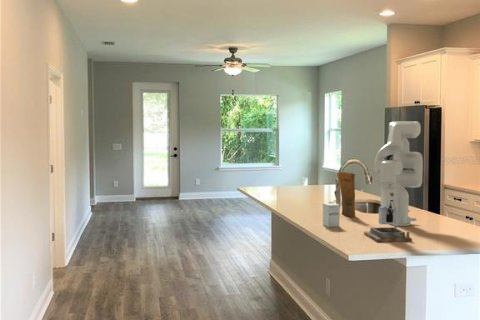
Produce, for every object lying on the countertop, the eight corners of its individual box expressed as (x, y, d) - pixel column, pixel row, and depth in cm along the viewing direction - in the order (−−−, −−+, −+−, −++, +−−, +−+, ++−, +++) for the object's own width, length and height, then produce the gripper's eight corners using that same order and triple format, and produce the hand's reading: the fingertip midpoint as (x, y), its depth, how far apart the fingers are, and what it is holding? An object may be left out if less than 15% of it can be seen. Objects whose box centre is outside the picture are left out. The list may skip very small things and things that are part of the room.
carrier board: (396, 233, 260) (396, 225, 260) (411, 241, 242) (412, 232, 242) (363, 234, 258) (364, 225, 258) (376, 242, 240) (376, 233, 240)
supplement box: (327, 227, 276) (328, 205, 276) (322, 224, 284) (322, 203, 283) (339, 226, 278) (340, 204, 278) (333, 224, 286) (334, 202, 285)
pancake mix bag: (349, 218, 305) (350, 173, 303) (335, 213, 323) (336, 170, 321) (359, 217, 306) (359, 173, 305) (345, 212, 325) (345, 170, 323)
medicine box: (393, 222, 252) (393, 206, 252) (396, 224, 248) (396, 207, 247) (378, 223, 252) (378, 206, 251) (381, 224, 247) (381, 207, 247)
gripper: (402, 187, 240) (401, 224, 242) (388, 183, 257) (387, 217, 258) (387, 187, 240) (386, 224, 241) (374, 183, 257) (374, 218, 258)
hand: (387, 220), depth 250 cm, fingers closed on medicine box, 4 cm apart
